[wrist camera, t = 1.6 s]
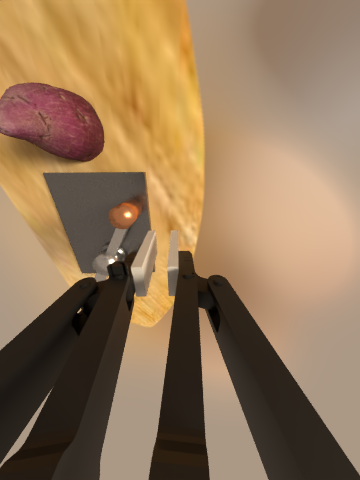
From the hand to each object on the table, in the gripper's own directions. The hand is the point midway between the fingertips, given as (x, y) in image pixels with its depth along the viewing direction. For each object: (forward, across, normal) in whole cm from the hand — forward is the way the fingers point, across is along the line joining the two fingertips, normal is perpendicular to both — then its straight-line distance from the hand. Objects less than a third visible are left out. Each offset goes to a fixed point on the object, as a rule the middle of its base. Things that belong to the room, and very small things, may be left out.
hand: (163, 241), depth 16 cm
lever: (+16, -12, -8) cm, 21 cm away
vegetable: (+19, -17, +14) cm, 29 cm away
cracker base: (+18, -15, -6) cm, 24 cm away
